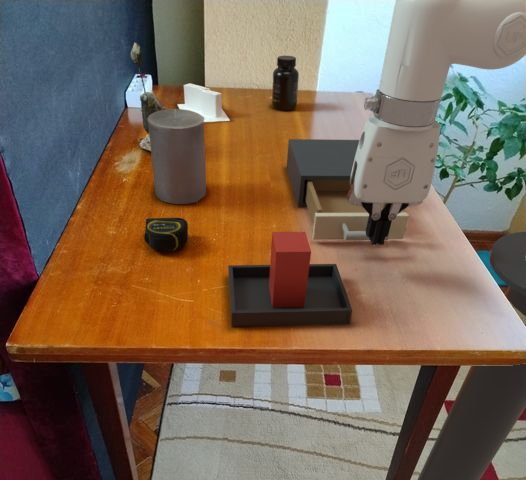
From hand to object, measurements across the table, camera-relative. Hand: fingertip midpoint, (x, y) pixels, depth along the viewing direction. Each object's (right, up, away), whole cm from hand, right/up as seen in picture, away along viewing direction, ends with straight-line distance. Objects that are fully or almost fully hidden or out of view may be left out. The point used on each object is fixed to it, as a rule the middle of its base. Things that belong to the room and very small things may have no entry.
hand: (375, 240), depth 73 cm
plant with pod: (-40, +28, +36) cm, 61 cm away
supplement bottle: (-11, +50, +61) cm, 79 cm away
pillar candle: (-32, +13, +21) cm, 41 cm away
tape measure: (-33, +1, +8) cm, 34 cm away
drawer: (-1, +6, +14) cm, 15 cm away
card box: (-13, -9, -3) cm, 16 cm away
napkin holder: (-33, +46, +55) cm, 79 cm away
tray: (-13, -9, -2) cm, 16 cm away
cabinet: (-3, +17, +26) cm, 31 cm away
